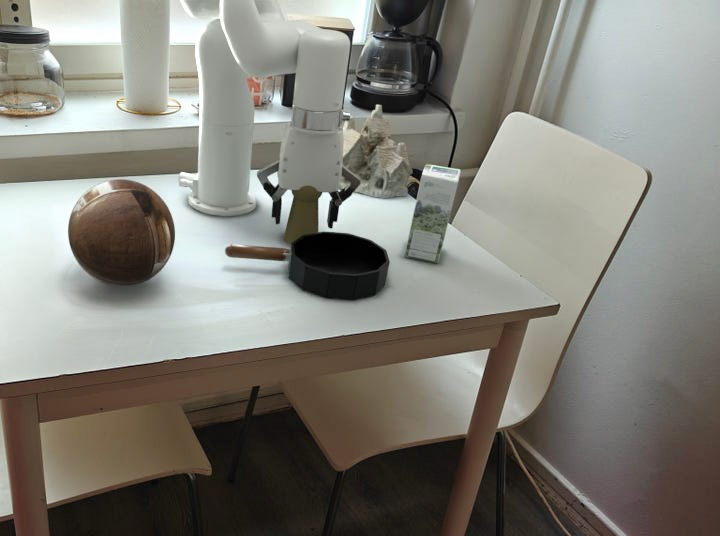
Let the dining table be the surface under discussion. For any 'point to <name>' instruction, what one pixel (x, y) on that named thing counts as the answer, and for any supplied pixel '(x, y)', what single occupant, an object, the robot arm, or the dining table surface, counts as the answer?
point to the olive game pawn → (302, 214)
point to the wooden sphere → (121, 232)
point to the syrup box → (432, 212)
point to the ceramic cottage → (375, 158)
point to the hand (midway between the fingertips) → (303, 223)
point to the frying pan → (327, 264)
